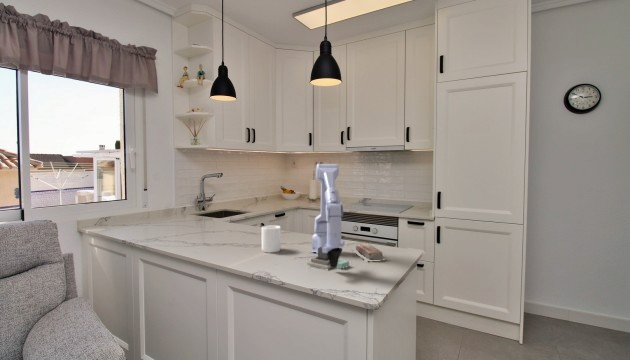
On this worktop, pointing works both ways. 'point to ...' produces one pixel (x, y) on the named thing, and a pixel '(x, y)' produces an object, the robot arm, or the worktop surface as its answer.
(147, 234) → the worktop surface
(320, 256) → the block
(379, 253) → the packaged product
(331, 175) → the robot arm
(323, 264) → the plate
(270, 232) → the mug
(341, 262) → the cable plug
